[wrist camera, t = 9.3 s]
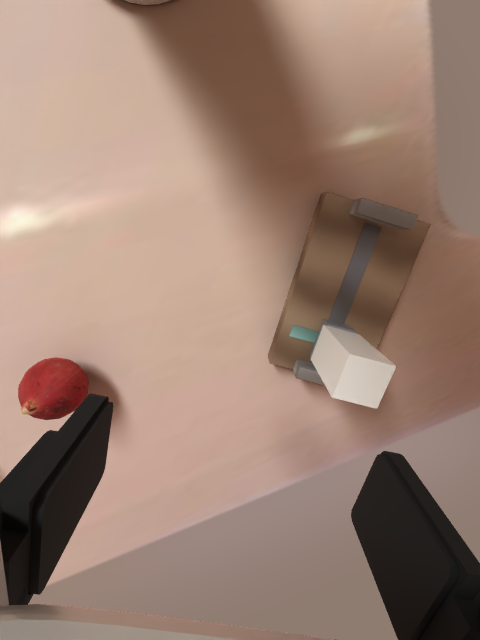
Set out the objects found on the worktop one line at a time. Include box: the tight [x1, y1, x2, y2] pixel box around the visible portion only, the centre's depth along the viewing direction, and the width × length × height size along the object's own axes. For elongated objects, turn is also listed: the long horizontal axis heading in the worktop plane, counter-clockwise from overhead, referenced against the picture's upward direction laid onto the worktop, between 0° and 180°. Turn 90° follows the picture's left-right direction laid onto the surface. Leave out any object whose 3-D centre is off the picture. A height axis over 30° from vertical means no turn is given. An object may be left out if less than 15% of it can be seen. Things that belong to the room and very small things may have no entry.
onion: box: [18, 358, 89, 420], centre depth 30 cm, size 6×6×8 cm
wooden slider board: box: [268, 192, 431, 385], centre depth 30 cm, size 17×10×4 cm, turn 164°
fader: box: [310, 319, 396, 409], centre depth 27 cm, size 4×4×9 cm
